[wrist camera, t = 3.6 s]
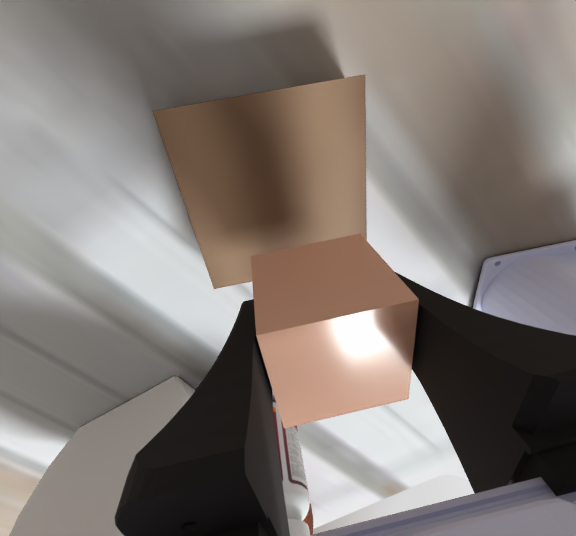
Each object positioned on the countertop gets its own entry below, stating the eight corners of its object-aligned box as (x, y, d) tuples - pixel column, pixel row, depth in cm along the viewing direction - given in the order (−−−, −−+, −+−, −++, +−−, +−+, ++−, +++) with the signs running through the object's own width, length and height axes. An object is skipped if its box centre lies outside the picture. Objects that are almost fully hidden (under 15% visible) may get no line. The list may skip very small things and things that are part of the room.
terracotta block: (359, 233, 13) (419, 299, 9) (361, 316, 15) (408, 399, 11) (250, 256, 13) (256, 335, 8) (271, 336, 15) (283, 428, 11)
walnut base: (345, 79, 16) (365, 74, 13) (351, 239, 21) (366, 258, 19) (167, 110, 16) (152, 111, 13) (217, 265, 21) (214, 288, 18)
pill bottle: (228, 430, 31) (221, 582, 21) (250, 394, 28) (254, 547, 18) (280, 437, 33) (296, 580, 23) (305, 404, 30) (334, 547, 20)
